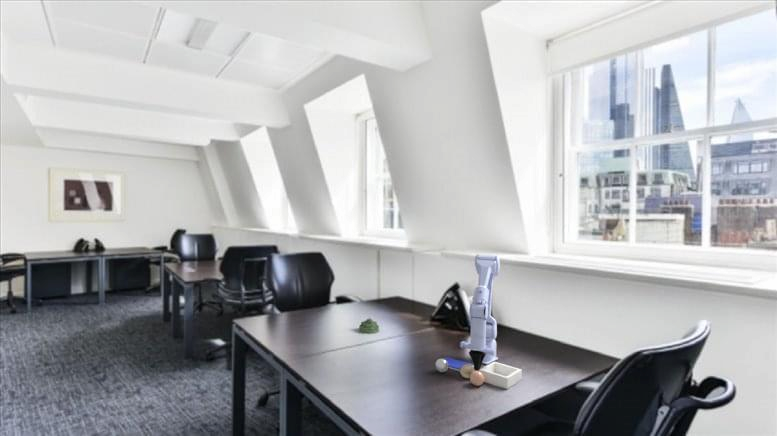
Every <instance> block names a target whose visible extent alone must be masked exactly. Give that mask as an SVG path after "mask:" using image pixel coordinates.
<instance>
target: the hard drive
mask: <svg viewBox="0 0 777 436" xmlns="http://www.w3.org/2000/svg"><path fill="white" fill-rule="evenodd" d="M443 359H445V360H446V361H447V362H448V369H451V370H454V371H458V372H460V369H461V367H462V366H463V365H465V364H469V365H471V366H472V367H473V368H474V365H473V363H470V362H466V361H463V360H459V359H456V358H451V357H448V356H447V357H445V358H443Z"/></svg>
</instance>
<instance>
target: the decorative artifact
mask: <svg viewBox="0 0 777 436" xmlns="http://www.w3.org/2000/svg"><path fill="white" fill-rule="evenodd" d="M370 317H371V316H370ZM370 317H368V318H367V319H366V320H363V321H361V323H360V324H359V329H358V331H359V333H362V334H367V335H370V334H371V335H372V334H373V335H374V334H377V333H379V331H380V325H378V324H377V321H374V320H373V319H372V318H370Z"/></svg>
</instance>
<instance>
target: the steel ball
mask: <svg viewBox="0 0 777 436" xmlns="http://www.w3.org/2000/svg"><path fill="white" fill-rule="evenodd" d="M434 366H435V369H436V371H438V372H439V373H445V372H447V371H448V369H449V368H448V362H447V361H446V360H445V359H444V358H438V359H437V360H436V362H435V365H434Z"/></svg>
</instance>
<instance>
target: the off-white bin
mask: <svg viewBox="0 0 777 436" xmlns="http://www.w3.org/2000/svg"><path fill="white" fill-rule="evenodd" d="M478 371H480V372H481V373H482V374H483V376H484V382H483V383H485V384H486V383H487V384H488V385H489V384H490V385H493V386H496V387H499V388H502V389H505V390H509V389H511V388H513V387H514V386H516V384H518V383H519V382H522V379H523V378H522V377H523V375H522V374H523V370H522V368H521V369H520V368H517V367H514V366H511V365H509V364H504V363H501V362H497V361H493V362H491V363H489V364H486V366H483V367H482V368H480V369H479V370H478Z"/></svg>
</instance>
